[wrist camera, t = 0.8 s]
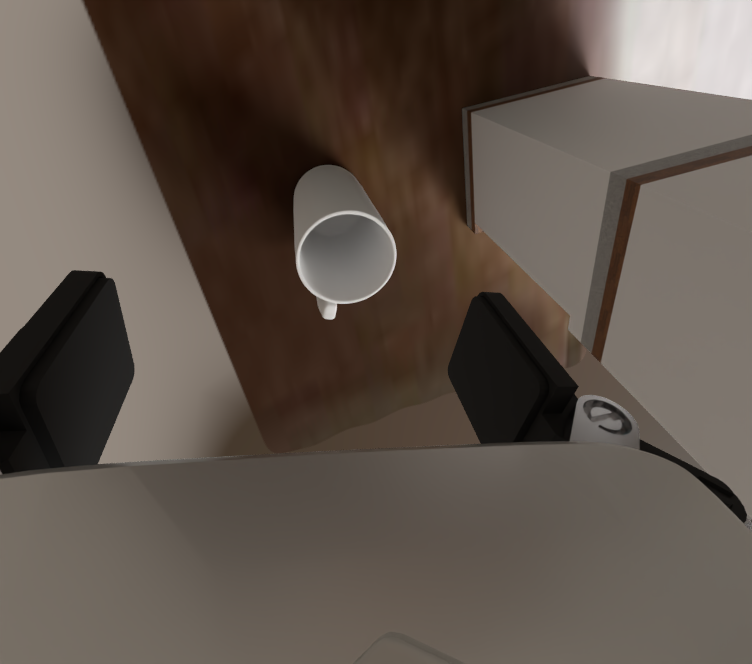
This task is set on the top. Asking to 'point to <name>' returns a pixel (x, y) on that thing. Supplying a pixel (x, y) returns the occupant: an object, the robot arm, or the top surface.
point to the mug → (339, 239)
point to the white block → (635, 241)
